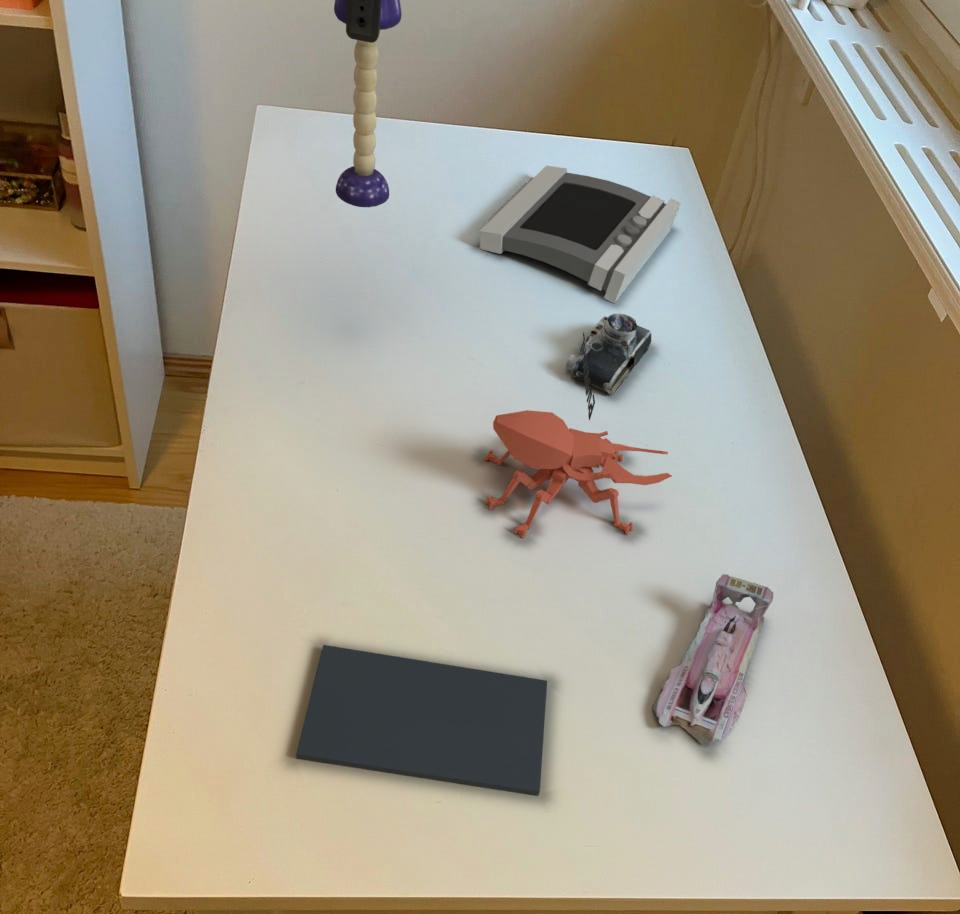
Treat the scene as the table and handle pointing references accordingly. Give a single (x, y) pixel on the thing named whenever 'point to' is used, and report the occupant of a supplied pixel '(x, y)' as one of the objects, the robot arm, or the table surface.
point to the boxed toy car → (715, 664)
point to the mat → (426, 720)
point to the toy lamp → (365, 117)
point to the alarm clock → (582, 227)
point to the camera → (611, 352)
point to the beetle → (563, 457)
